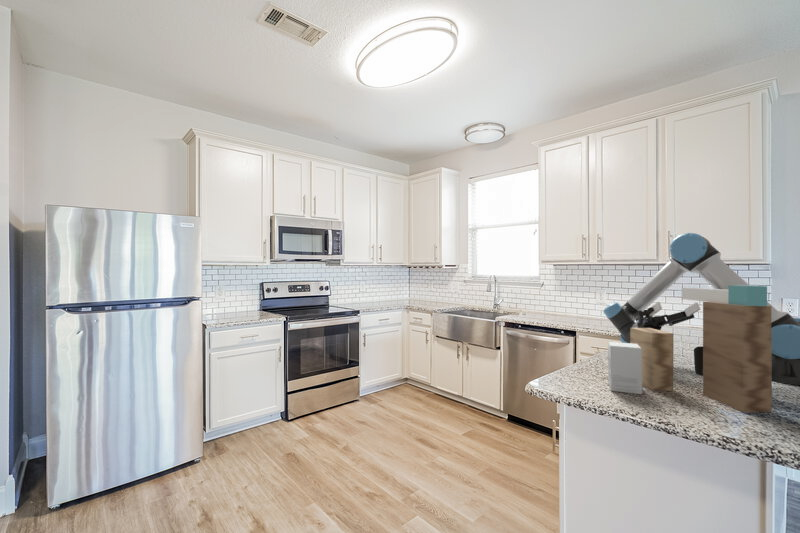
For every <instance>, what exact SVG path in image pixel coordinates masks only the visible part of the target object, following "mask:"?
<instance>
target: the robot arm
mask: <svg viewBox="0 0 800 533" xmlns="http://www.w3.org/2000/svg"><path fill="white" fill-rule="evenodd" d="M669 253H670V255H671V256H669V261H667V263H666V264H664V266H663V267H662V268H660V269H659V271H658V272H657V273H655V274H654V275H653V276H652V277H651V278H650V279H649V280H648V281H647V282H646V283H645V284H644V285H643V286H642V287H641V288H640V289H639V290H637V291H636V292H635V294H634V295H633V296H632V297H631V298H630V299H628V300H627V301H626V302H625V303H624V304H623V305H621V304H620V303H619V302H613V303H611V304H610V305H608V306H606V307H605V308H604V310H603V314H604V315H605V316H606V318H607V319H608V320H609V321H610V322H611V323H612V325H613V326H614V327H615V329H616V330H618V332H619V339H620V343H630V328H652V329H656V330H661V331H662V328H663V326H665V325H668V326H669V327H672V326H674V325H677V324H679V323H682V322H685V321H688V320H691V319H694V318H695V315H694V314H696V313H698V311H700V310H701V306H700V304H699V302H695V303H693V304H691V305H690V306H688V307H687V308H685V309H684V311H679V312H674V313H672V314H663V315H657V316H656V315H655V314H657V313H659V312H660V311H661V310H663V307H662V305H661V302H660V301H657V302H656V303H655V304H653V303H654V302H655V301H656V300H657V299H658V298H660V297H661V296H662V295H663V294H664V293H665V292H666V291H667V290H668V289H669V288H670V287H672V285H673V284H675V283H676V282H677V281H678V280H679V279H680V278H681V277H683V276H684V274H686V273H688V272H690V273H694V274H695V273H696V274H699V276H700V277H701V278H703V279H704V281H705V282H707V284H709V285H710V286H711V287H712V289H722V290H728V285H744V286H751V285H750V284H749V283H748V282H746V281H745V280H744V279H743V278H742V277H741V276H740V275H738V273H736V272H735V271H734V270H733V269H732V268H731V267H730V266H729V265H727V263H725V262H724V261H723V260H722V258H721V255H722V254H721V252H720V251H719V250H718V249H717V248H716V247H715V246H713V245H712V244H711V242H710V241H709V240H708V239H707V238H705V237H704V236H702V235H701V234H698V233H695V232H687V233H683V234H679V235H678V236H676V237H674V239H673V240H672V241H671V243H670V245H669ZM651 305H652V306H651ZM649 306H651V307H649ZM767 306H771V334H772V381H773V382H777V383H782V384H787V385H792V386H794V385H795V386H800V318H799V317H793V316H792V315H790V313H789V312H786V311H780V310H777V309H776V308H775V307H774V306H773V305H772V304H771V302H769V301H767ZM648 307H649V308H648ZM635 321H636V322H635Z"/></svg>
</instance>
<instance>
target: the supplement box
mask: <svg viewBox="0 0 800 533" xmlns="http://www.w3.org/2000/svg"><path fill="white" fill-rule="evenodd" d="M607 344H608V346H607V351H608V352H607V354H608V355H607V356H608V357H607V358H608V360H607V362H608V363H607V364H608V367H607V368H608V372H607V374H608V375H607V376H608V379H607V380H608V386H609V389H610V391H611V392H616V393H617V392H620V393H627V394H637V395H643V386H642V348H641V347H640V346H639V345H638V344H633V343H622V342H617V341H607Z"/></svg>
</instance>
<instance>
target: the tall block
mask: <svg viewBox="0 0 800 533" xmlns="http://www.w3.org/2000/svg"><path fill="white" fill-rule="evenodd" d="M702 347H703V375H702V396H703V397H707V398H709V399H711V400H713V401H716V402H719V403H721V404H723V405H725V406H728V407H730V408H732V409H735V410H737V411H739V412H742V413H772V412H773V411H772V409H773V403H772V401H773V400H772V399H773V398H772V396H773V395H772V394H773V392H772V391H773V390H772V383H773V382H772V334H771V306H743V305H734V304H726V303H716V302H706V301H702Z"/></svg>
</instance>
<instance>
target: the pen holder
mask: <svg viewBox="0 0 800 533" xmlns="http://www.w3.org/2000/svg"><path fill="white" fill-rule="evenodd" d="M693 359H694V360H693V362H694V363H693V364H694V372H695V373H696V374H697V375H699V376H703V345H702V346H701V345H700V346H696V347H695V348H693Z"/></svg>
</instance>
